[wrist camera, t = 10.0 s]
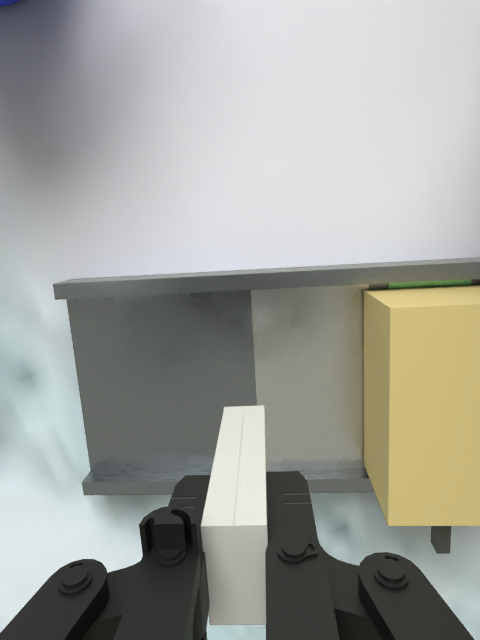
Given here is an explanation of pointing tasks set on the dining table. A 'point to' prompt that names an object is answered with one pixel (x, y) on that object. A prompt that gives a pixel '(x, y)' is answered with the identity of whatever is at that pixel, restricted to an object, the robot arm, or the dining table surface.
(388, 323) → the block
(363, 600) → the robot arm
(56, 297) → the tray
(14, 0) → the mug
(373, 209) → the dining table surface
